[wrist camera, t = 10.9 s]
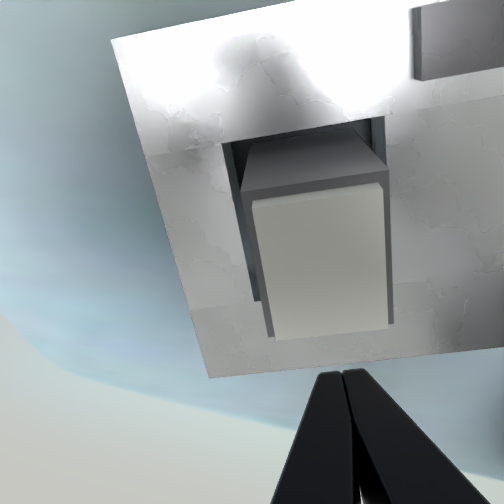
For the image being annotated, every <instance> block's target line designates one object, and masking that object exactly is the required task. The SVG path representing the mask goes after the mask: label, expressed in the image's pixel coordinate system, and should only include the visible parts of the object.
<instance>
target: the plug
mask: <svg viewBox="0 0 504 504" xmlns="http://www.w3.org/2000/svg"><path fill="white" fill-rule="evenodd" d="M240 194H241V199H242V204H243V209H244V215H245V220H246V225H247V230H248V235H249V241H250V246H251V251H252V256H253V262H254V267H255V272H256V277H257V282H258V288H259V293H260V298H261V303H262V309H263V314H264V319H265V324H266V329H267V335H268V338H269V337H275V338H276V341H280V340H289V339H298V338H307V337H316V336H326V335H335V334H344V333H353V332H362V331H372V330H381V329H388V324H394V308H393V278H392V247H391V216H390V185H389V169H388V168H387V167H386V166H385V164H384V163H383V162H382V161H381V160H380V159H379V158H378V156H377V155H376V154H375V153H374V152H373V151H372V150H371V148H370V147H369V146H368V145H367V144H366V143H365V142H364V140H363V139H362V138H361V137H360V136H359V135H358V134H357V132H356V131H355V130H354V129H353V128H346V129H339V130H333V131H327V132H321V133H315V134H309V135H303V136H297V137H291V138H284V139H278V140H272V141H266V142H260V143H254V144H251V145H250V149H249V154H248V159H247V163H246V168H245V172H244V177H243V181H242V186H241V191H240Z"/></svg>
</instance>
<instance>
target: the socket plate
mask: <svg viewBox="0 0 504 504" xmlns="http://www.w3.org/2000/svg"><path fill="white" fill-rule="evenodd" d="M111 42H112V46H113V49H114V53H115V56H116V59H117V63H118V66H119V70H120V73H121V77H122V80H123V84H124V87H125V90H126V94H127V97H128V101H129V104H130V108H131V111H132V115H133V118H134V121H135V125H136V128H137V132H138V135H139V139H140V142H141V146H142V149H143V152H144V156H145V159H146V163H147V166H148V170H149V173H150V177H151V180H152V183H153V187H154V190H155V194H156V197H157V201H158V204H159V208H160V211H161V214H162V218H163V221H164V225H165V228H166V232H167V235H168V239H169V242H170V245H171V249H172V252H173V256H174V259H175V263H176V266H177V270H178V273H179V276H180V280H181V283H182V287H183V290H184V294H185V297H186V301H187V304H188V307H189V311H190V314H191V318H192V321H193V325H194V328H195V332H196V335H197V338H198V342H199V345H200V349H201V352H202V356H203V359H204V363H205V366H206V369H207V373H208V376H209V378H217V377H226V376H236V375H245V374H254V373H264V372H273V371H282V370H292V369H301V368H310V367H320V366H329V365H338V364H348V363H357V362H366V361H376V360H385V359H394V358H404V357H413V356H422V355H432V354H441V353H451V352H460V351H469V350H479V349H488V348H497V347H504V0H297V1H292V2H288V3H283V4H278V5H273V6H269V7H264V8H259V9H254V10H249V11H245V12H240V13H235V14H230V15H226V16H221V17H216V18H211V19H206V20H202V21H197V22H192V23H187V24H182V25H178V26H173V27H168V28H163V29H159V30H154V31H149V32H144V33H139V34H135V35H130V36H125V37H120V38H116V39H111ZM366 118H371V133H372V150H373V152H374V153H375V154H376V155H377V156H378V158H379V159H380V160H381V161H382V162H383V163H384V164H385V166H386V167H387V168H388V169H389V185H390V216H391V247H392V278H393V308H394V324H388V329H381V330H372V331H362V332H353V333H344V334H335V335H326V336H316V337H307V338H298V339H289V340H280V341H276V338H275V337H269V338H268V335H267V329H266V324H265V319H264V314H263V309H262V303H261V298H260V293H259V288H258V282H257V277H256V272H255V267H254V262H253V256H252V251H251V246H250V241H249V235H248V230H247V225H246V220H245V215H244V209H243V204H242V199H241V194H240V188H239V183H238V178H237V173H236V168H235V163H234V158H233V153H232V148H231V143H230V142H234V141H239V140H245V139H251V138H257V137H263V136H268V135H274V134H280V133H286V132H291V131H297V130H303V129H309V128H315V127H320V126H326V125H332V124H338V123H343V122H349V121H355V120H361V119H366Z"/></svg>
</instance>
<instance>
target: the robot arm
mask: <svg viewBox="0 0 504 504" xmlns="http://www.w3.org/2000/svg"><path fill="white" fill-rule="evenodd" d="M359 486H360V487H359ZM360 491H361V496H362V500H363V504H490V503H489V502H488V501H487V500H486V498H485V497H484V496H483V495H482V494H481V493H480V492H479V491H478V490H477V489H476V488H475V487H474V486H473V485H472V483H471V482H470V481H469V480H468V479H467V478H466V477H465V476H464V475H463V474H462V473H461V472H460V471H459V469H458V468H457V467H456V466H455V465H454V464H453V463H452V462H451V461H450V460H449V459H448V458H447V457H446V456H445V454H444V453H443V452H442V451H441V450H440V449H439V448H438V447H437V446H436V445H435V444H434V443H433V442H432V441H431V439H430V438H429V437H428V436H427V435H426V434H425V433H424V432H423V431H422V430H421V429H420V428H419V427H418V426H417V424H416V423H415V422H414V421H413V420H412V419H411V418H410V417H409V416H408V415H407V414H406V413H405V412H404V410H403V409H402V408H401V407H400V406H399V405H398V404H397V403H396V402H395V401H394V400H393V399H392V398H391V397H390V395H389V394H388V393H387V392H386V391H385V390H384V389H383V388H382V387H381V386H380V385H379V384H378V383H377V382H376V380H375V379H374V378H373V377H372V376H371V375H370V374H369V373H368V372H367V371H366V370H365V369H362V368H359V369H350V370H344V371H343V372H342V374H341V372H339V371H331V372H322V373H320V374H319V375H318V376H317V379H316V382H315V384H314V387H313V390H312V392H311V395H310V398H309V400H308V403H307V406H306V409H305V411H304V414H303V417H302V419H301V422H300V425H299V427H298V430H297V433H296V436H295V439H294V441H293V444H292V446H291V449H290V452H289V454H288V457H287V460H286V463H285V465H284V468H283V471H282V473H281V476H280V479H279V482H278V484H277V487H276V489H275V492H274V495H273V498H272V500H271V503H270V504H361V496H360Z"/></svg>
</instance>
